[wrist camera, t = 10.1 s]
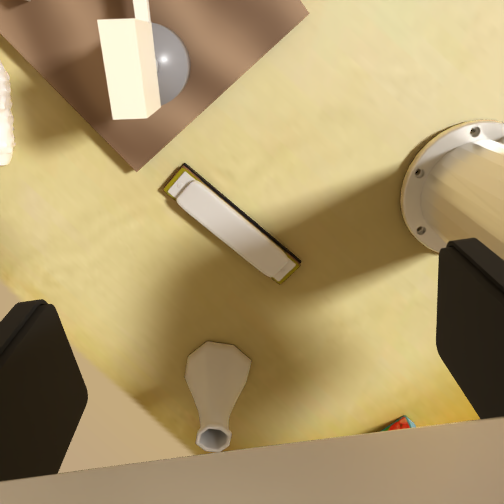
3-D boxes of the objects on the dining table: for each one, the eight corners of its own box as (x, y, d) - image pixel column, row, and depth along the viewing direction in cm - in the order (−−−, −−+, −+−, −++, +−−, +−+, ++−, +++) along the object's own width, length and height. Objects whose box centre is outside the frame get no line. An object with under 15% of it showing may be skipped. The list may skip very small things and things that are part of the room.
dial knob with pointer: (193, 101, 36) (178, 120, 26) (123, 103, 36) (82, 124, 26) (177, -98, 30) (150, -162, 21) (94, -95, 30) (29, -158, 21)
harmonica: (300, 258, 44) (303, 268, 43) (279, 279, 45) (280, 289, 44) (185, 161, 40) (183, 166, 38) (164, 186, 41) (160, 192, 39)
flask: (173, 377, 50) (159, 452, 41) (203, 330, 47) (195, 397, 38) (231, 401, 51) (229, 478, 42) (263, 356, 49) (268, 427, 40)
